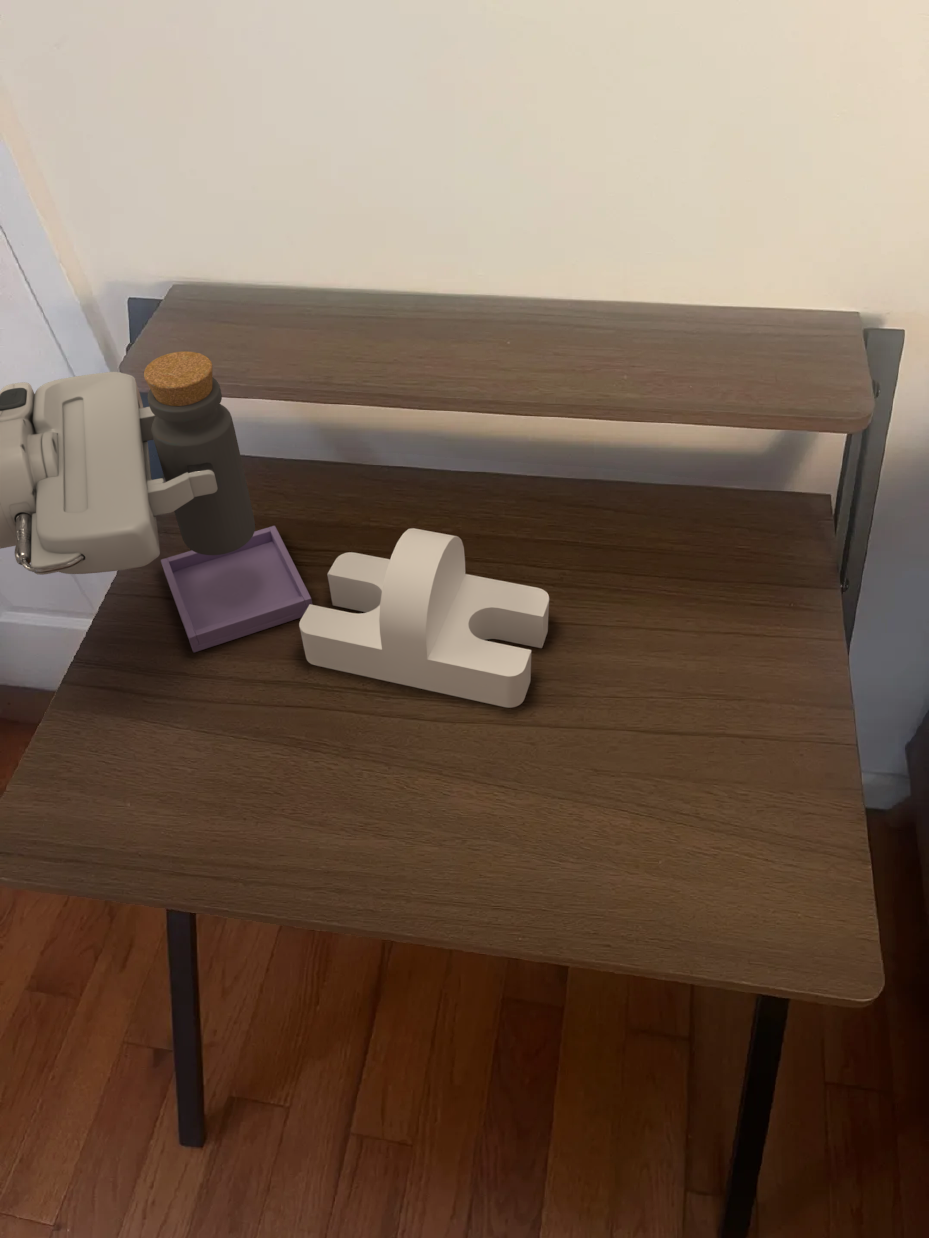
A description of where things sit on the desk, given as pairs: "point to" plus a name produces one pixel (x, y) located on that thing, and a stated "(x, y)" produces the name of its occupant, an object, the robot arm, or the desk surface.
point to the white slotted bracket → (428, 622)
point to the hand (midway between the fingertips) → (210, 448)
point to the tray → (236, 590)
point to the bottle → (199, 450)
